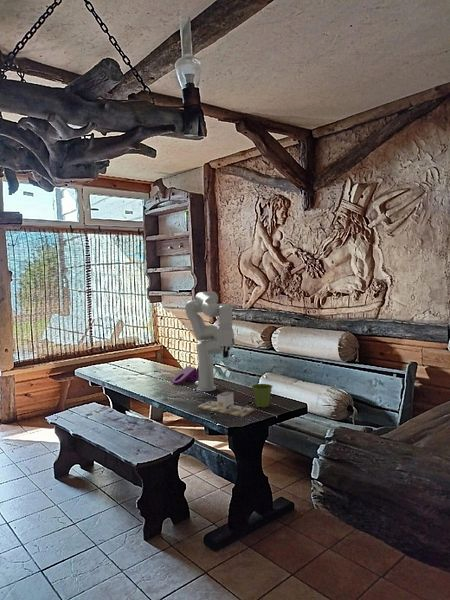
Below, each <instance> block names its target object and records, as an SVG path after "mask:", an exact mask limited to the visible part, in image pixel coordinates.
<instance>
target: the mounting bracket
mask: <svg viewBox="0 0 450 600" xmlns="http://www.w3.org/2000/svg"><path fill="white" fill-rule="evenodd" d="M186 381H189V382H192V383H195V382H196V381H199V371H198V369H197V368H196V367H194V366H189V365H186V366H185V367H184V368H183V369H181V370H180V371H179V372H178V373H177V374H176V375H174V377H172V379H171V382H172V384H173V385H174V384H176V385H175V386H178V385H181V384H183V383H184V382H186Z"/></svg>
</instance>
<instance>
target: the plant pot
mask: <svg viewBox="0 0 450 600" xmlns="http://www.w3.org/2000/svg"><path fill="white" fill-rule="evenodd" d="M251 388H252V391H253V396H254V403H255V406H256V407H257V408H268V407H269V406H270V400H271V393H272V388H273V385H272V384H269V383H255V384H253V385H251Z"/></svg>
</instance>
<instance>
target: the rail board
mask: <svg viewBox="0 0 450 600" xmlns="http://www.w3.org/2000/svg"><path fill="white" fill-rule="evenodd" d="M210 401H211V402H216V401H213V400H210ZM234 406H238V407H243V408H247V411H245V412H240V411H235V410H230V409H226V410H221V409H217V407H214V406H209V405H205V402H203V403H202V404H199V405H197V408H198V409H203V410H206V411H211V412H217V413H222V414H227V415H231V416H235V417H242V418H243V417H246V416H248V415H249V414H251V413H253V412H255V411H256V410H255V408H251V407H247V406H240V405H235V404H234Z"/></svg>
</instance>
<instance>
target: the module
mask: <svg viewBox="0 0 450 600" xmlns="http://www.w3.org/2000/svg"><path fill="white" fill-rule="evenodd" d="M234 398H235V397H234V392H232V391H227V390H226V391H224V392H221V393H219V394H217V395H216V402H217V409H221V410H226V407H227V406H229V405H232V406H234V405H235V404H234V403H235V402H234Z"/></svg>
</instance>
